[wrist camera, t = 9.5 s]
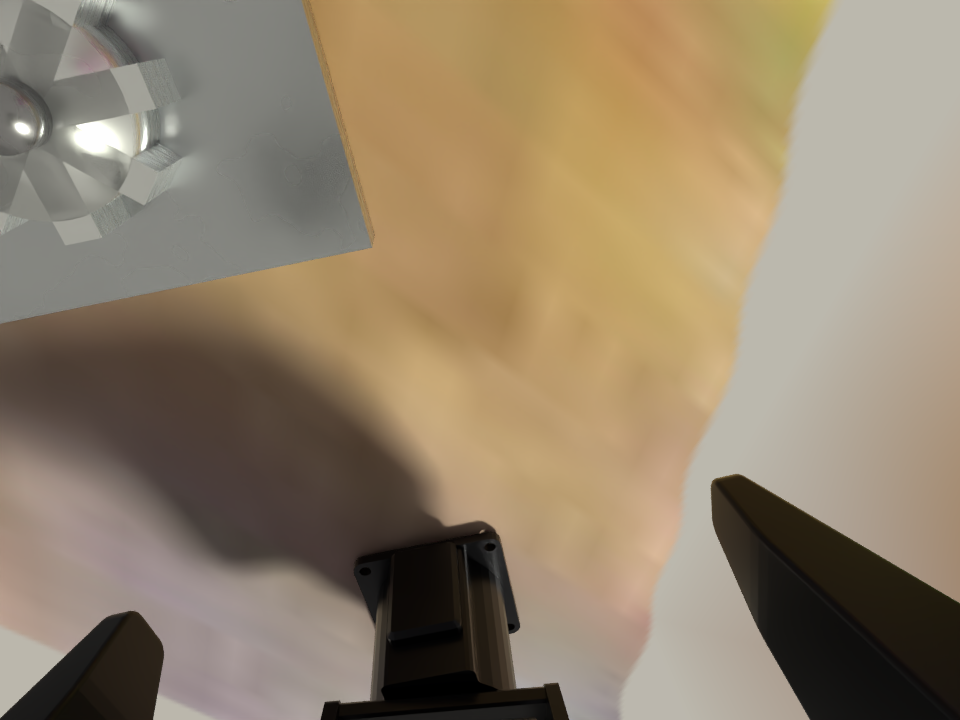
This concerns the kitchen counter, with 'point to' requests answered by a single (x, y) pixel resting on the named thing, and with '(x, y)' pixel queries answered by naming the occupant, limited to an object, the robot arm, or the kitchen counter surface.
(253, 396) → the kitchen counter surface
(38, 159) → the carrier
